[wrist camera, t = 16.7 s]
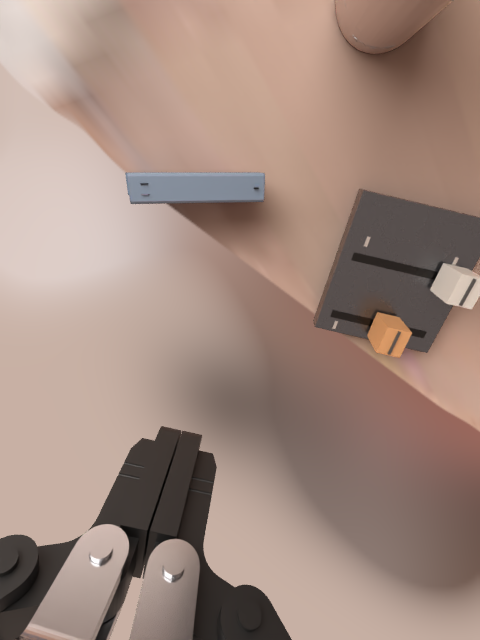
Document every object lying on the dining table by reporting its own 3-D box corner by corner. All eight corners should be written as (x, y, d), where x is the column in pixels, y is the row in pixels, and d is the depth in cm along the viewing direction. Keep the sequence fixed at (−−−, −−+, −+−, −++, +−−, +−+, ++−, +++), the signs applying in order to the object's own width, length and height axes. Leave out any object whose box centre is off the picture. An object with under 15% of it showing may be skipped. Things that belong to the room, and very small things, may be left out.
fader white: (443, 262, 40) (463, 274, 36) (467, 268, 40) (489, 280, 36) (429, 290, 42) (447, 304, 38) (452, 295, 42) (472, 310, 38)
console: (359, 188, 40) (363, 190, 38) (488, 219, 40) (499, 222, 38) (313, 320, 48) (315, 327, 46) (421, 345, 48) (427, 353, 46)
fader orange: (377, 312, 44) (388, 328, 40) (399, 317, 44) (412, 333, 40) (366, 335, 45) (376, 353, 41) (388, 340, 45) (400, 358, 41)
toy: (251, 194, 44) (271, 202, 35) (128, 195, 41) (116, 204, 32) (251, 170, 43) (272, 173, 34) (125, 171, 40) (112, 173, 31)
